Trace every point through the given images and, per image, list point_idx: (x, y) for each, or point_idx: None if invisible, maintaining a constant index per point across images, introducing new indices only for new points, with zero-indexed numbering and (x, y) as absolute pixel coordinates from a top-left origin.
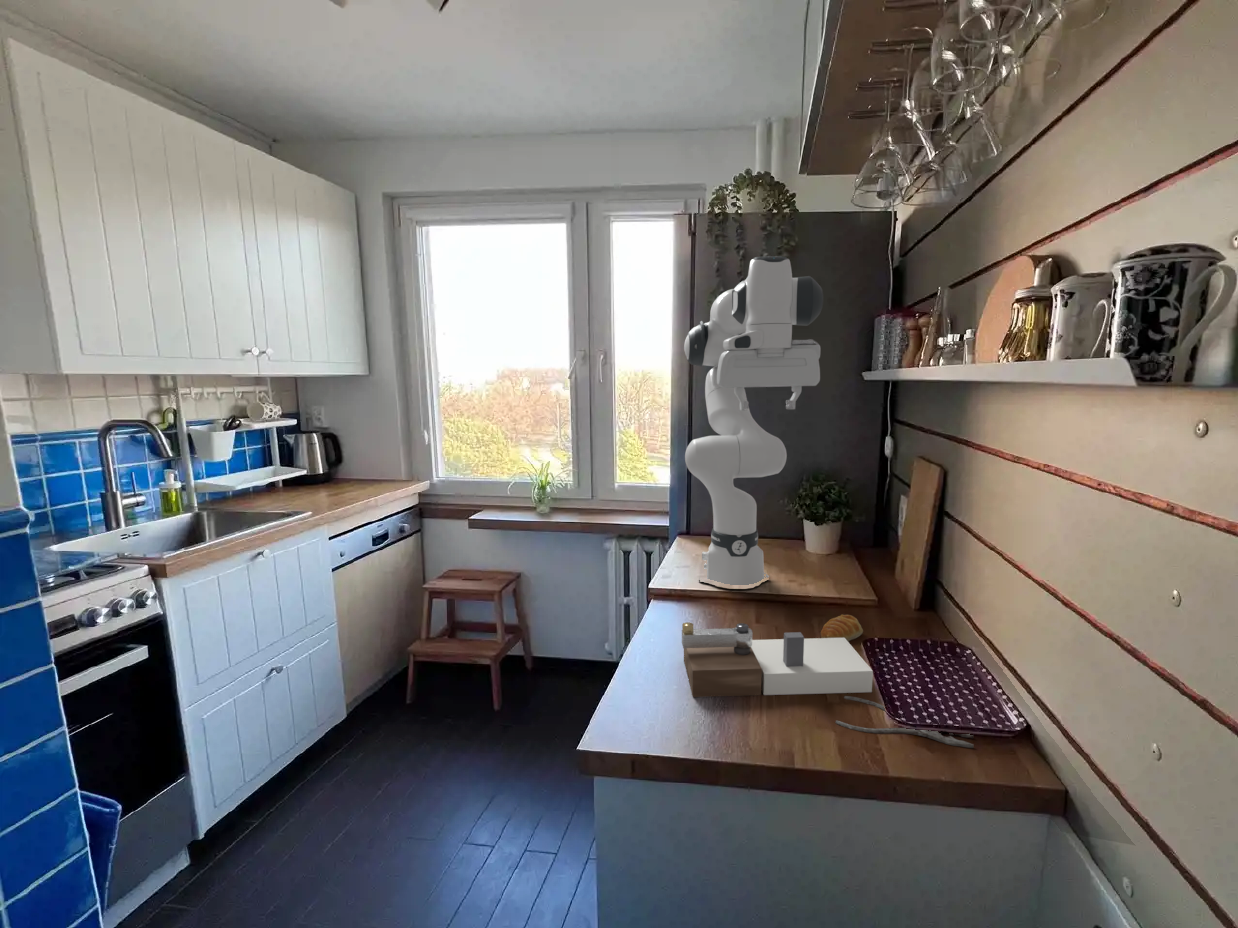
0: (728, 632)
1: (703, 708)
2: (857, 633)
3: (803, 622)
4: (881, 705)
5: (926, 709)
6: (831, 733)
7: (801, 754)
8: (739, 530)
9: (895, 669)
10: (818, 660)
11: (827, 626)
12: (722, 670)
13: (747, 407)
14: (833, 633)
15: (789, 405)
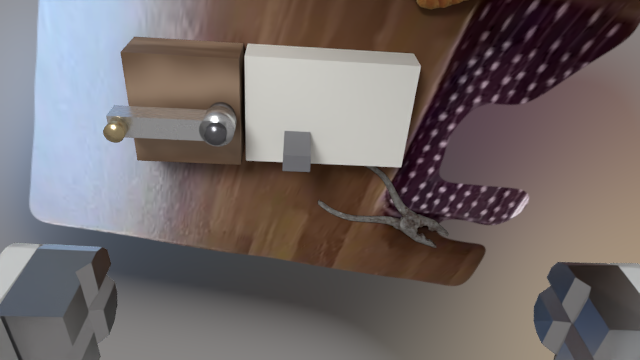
0: (191, 134)
1: (162, 163)
2: None
3: None
4: (387, 182)
5: (437, 188)
6: (304, 216)
7: (260, 241)
8: None
9: (467, 100)
10: (339, 134)
11: None
12: (182, 161)
13: (98, 330)
14: (428, 4)
15: (556, 351)
